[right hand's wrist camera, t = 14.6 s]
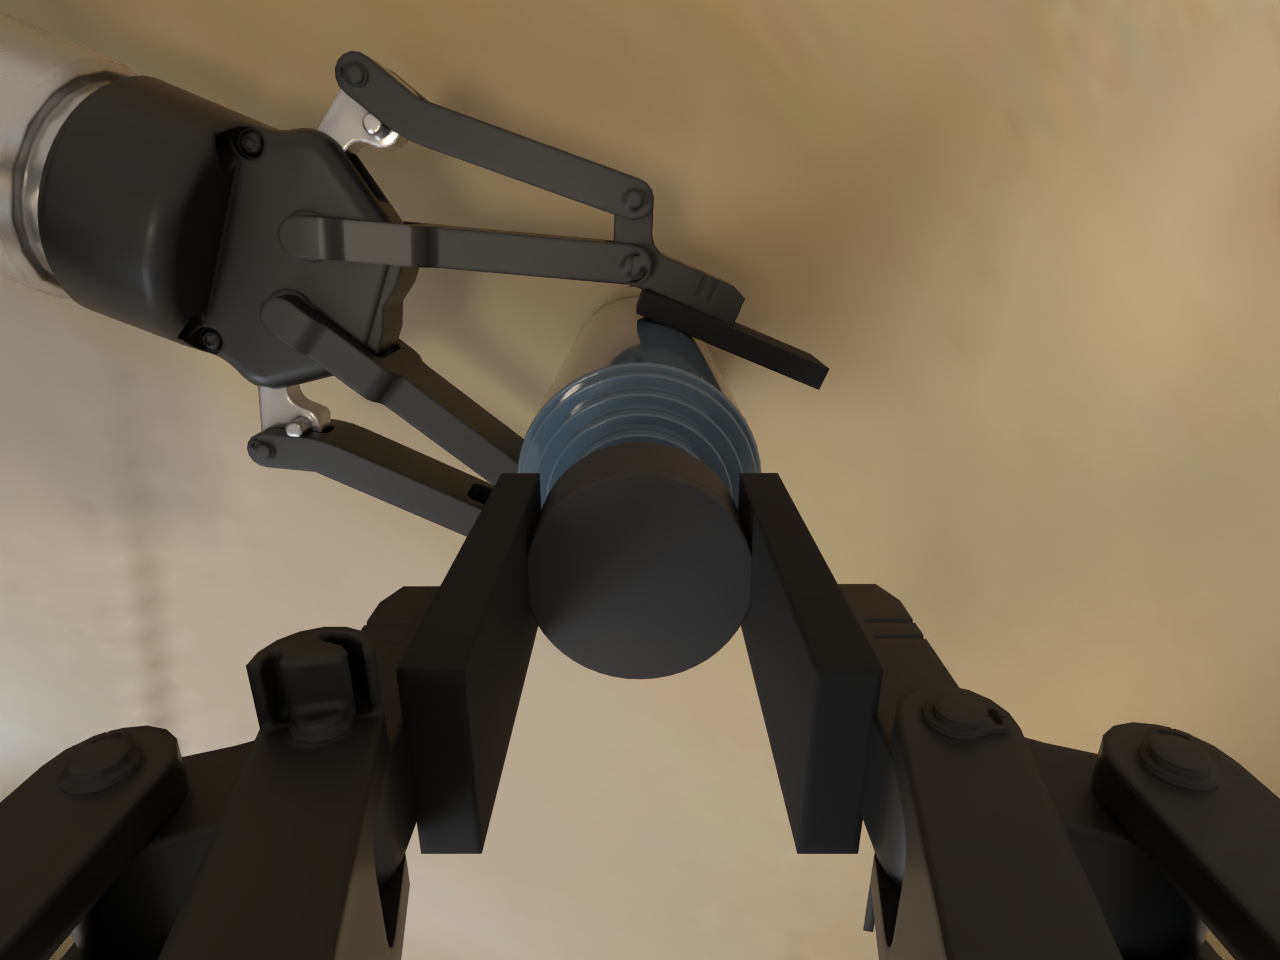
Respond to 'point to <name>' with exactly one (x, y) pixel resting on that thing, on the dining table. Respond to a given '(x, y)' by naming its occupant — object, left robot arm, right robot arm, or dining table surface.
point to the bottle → (638, 400)
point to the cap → (639, 562)
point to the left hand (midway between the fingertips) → (771, 455)
